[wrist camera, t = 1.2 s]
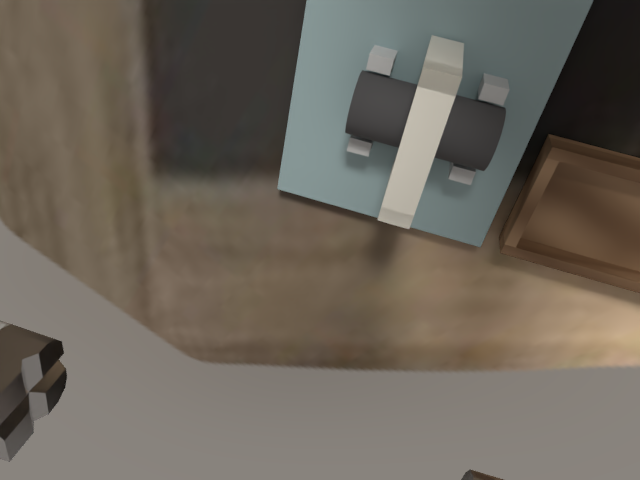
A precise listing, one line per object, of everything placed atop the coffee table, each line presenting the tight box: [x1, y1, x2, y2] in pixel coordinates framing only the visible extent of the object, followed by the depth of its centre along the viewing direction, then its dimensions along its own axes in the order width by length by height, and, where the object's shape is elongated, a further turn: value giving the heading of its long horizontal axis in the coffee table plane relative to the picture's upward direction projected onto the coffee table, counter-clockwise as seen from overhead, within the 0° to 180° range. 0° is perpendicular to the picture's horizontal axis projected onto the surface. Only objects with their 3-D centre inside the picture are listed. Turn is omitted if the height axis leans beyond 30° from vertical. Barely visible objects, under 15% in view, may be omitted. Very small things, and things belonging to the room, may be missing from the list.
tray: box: [499, 134, 640, 293], centre depth 36 cm, size 9×14×2 cm, turn 79°
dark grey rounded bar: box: [345, 70, 506, 171], centre depth 33 cm, size 4×9×4 cm, turn 79°
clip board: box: [277, 0, 593, 247], centre depth 35 cm, size 18×16×3 cm
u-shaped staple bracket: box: [378, 35, 464, 229], centre depth 32 cm, size 10×2×7 cm, turn 169°
